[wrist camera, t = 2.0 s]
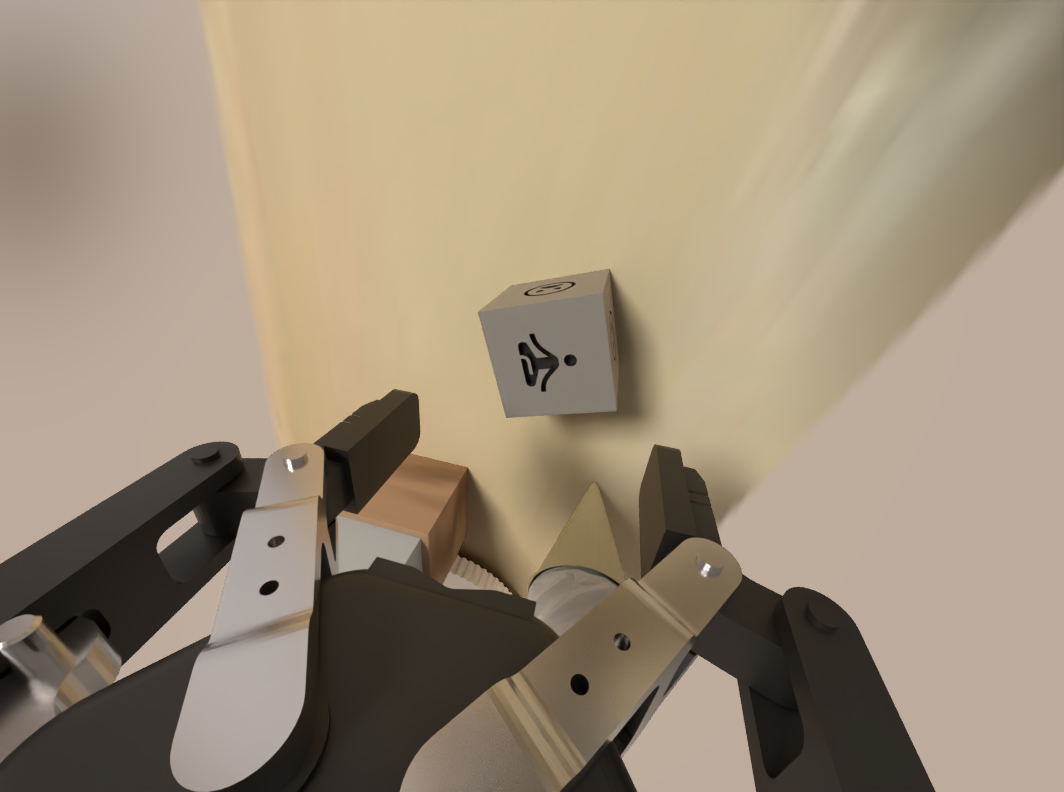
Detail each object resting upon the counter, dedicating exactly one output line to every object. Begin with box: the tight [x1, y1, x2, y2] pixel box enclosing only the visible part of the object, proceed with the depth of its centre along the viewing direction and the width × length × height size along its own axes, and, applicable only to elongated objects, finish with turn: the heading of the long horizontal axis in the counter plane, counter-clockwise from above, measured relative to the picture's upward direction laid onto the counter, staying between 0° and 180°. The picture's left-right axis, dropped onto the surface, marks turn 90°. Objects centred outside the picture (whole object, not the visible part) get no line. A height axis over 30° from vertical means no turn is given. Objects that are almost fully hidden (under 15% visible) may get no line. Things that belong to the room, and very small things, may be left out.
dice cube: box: [478, 269, 620, 418], centre depth 18 cm, size 5×5×5 cm
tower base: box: [339, 454, 468, 584], centre depth 26 cm, size 7×7×6 cm
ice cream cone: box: [527, 483, 626, 636], centre depth 18 cm, size 5×5×15 cm
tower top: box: [337, 515, 423, 573], centre depth 21 cm, size 6×6×6 cm
